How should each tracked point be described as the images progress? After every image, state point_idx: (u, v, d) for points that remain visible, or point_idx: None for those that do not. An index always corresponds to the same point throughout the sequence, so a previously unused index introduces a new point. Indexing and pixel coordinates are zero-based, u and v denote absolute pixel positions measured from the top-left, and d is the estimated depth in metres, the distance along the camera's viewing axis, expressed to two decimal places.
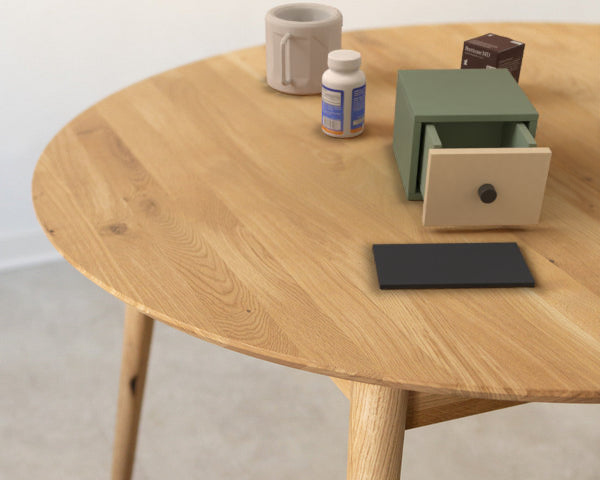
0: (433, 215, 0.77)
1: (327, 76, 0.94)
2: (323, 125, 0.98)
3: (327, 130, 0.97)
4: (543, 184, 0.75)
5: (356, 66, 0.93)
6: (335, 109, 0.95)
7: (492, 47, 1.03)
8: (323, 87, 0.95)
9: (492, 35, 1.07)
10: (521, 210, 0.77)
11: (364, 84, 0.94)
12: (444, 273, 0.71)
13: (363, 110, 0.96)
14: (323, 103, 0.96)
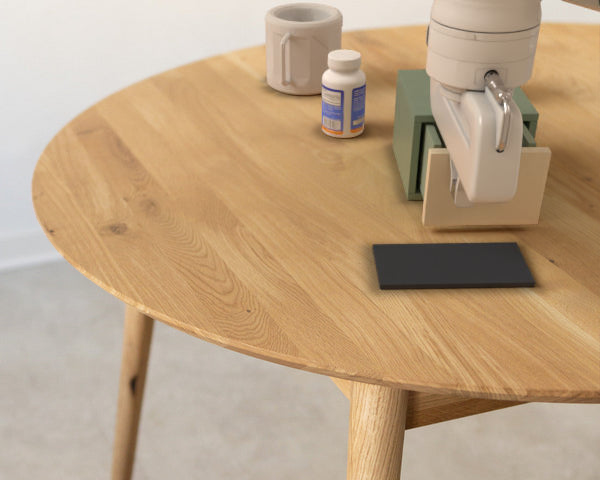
0: (433, 215, 0.77)
1: (327, 76, 0.94)
2: (323, 125, 0.98)
3: (327, 130, 0.97)
4: (542, 184, 0.75)
5: (356, 66, 0.93)
6: (335, 109, 0.95)
7: None
8: (323, 87, 0.95)
9: None
10: (521, 209, 0.77)
11: (364, 84, 0.94)
12: (444, 273, 0.71)
13: (363, 110, 0.96)
14: (323, 103, 0.96)
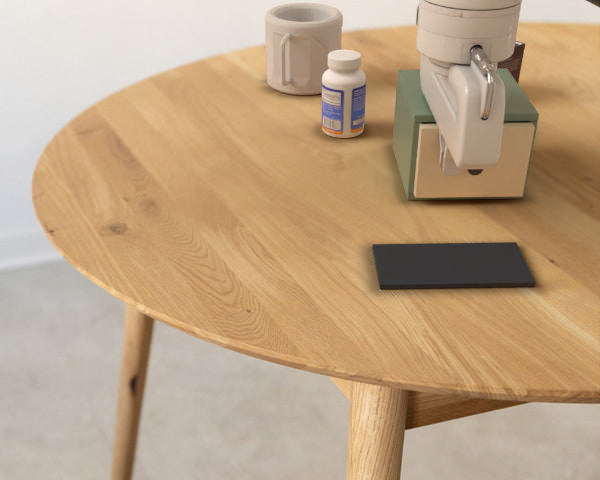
0: (424, 187, 0.82)
1: (327, 76, 0.94)
2: (323, 125, 0.98)
3: (327, 130, 0.97)
4: (526, 157, 0.80)
5: (356, 66, 0.93)
6: (335, 109, 0.95)
7: None
8: (323, 87, 0.95)
9: None
10: (506, 182, 0.81)
11: (364, 84, 0.94)
12: (444, 273, 0.71)
13: (363, 110, 0.96)
14: (323, 103, 0.96)
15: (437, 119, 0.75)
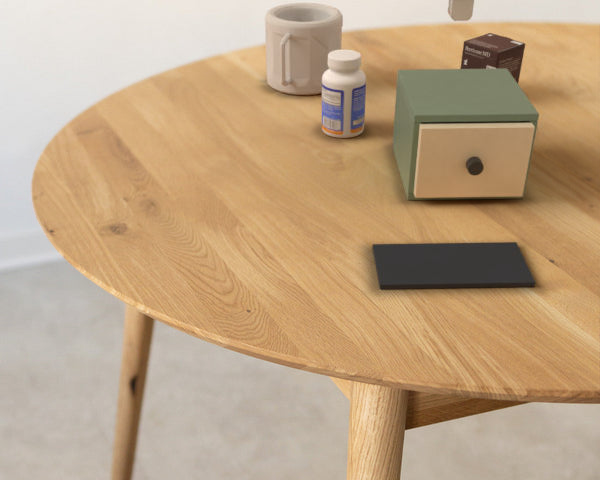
0: (424, 187, 0.82)
1: (327, 76, 0.94)
2: (323, 125, 0.98)
3: (327, 130, 0.97)
4: (526, 157, 0.80)
5: (356, 66, 0.93)
6: (335, 109, 0.95)
7: (492, 46, 1.03)
8: (323, 87, 0.95)
9: (492, 35, 1.07)
10: (506, 182, 0.81)
11: (364, 84, 0.94)
12: (444, 273, 0.71)
13: (363, 110, 0.96)
14: (323, 103, 0.96)
15: None
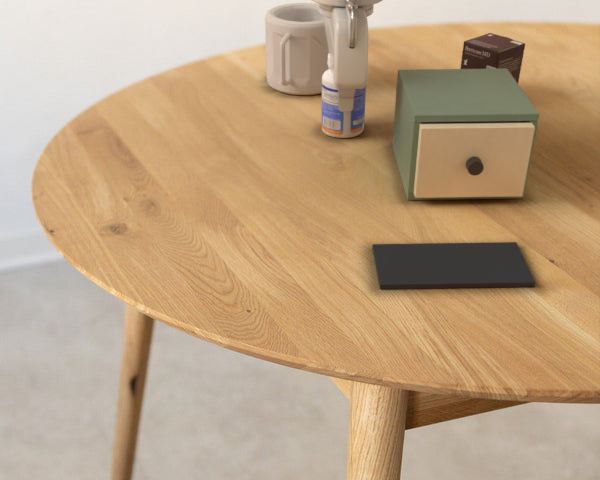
0: (424, 187, 0.82)
1: (327, 76, 0.94)
2: (323, 125, 0.98)
3: (327, 130, 0.97)
4: (526, 157, 0.80)
5: None
6: (335, 109, 0.95)
7: (492, 47, 1.03)
8: (323, 87, 0.95)
9: (492, 35, 1.07)
10: (506, 182, 0.81)
11: None
12: (444, 273, 0.71)
13: (363, 110, 0.96)
14: (323, 103, 0.96)
15: None
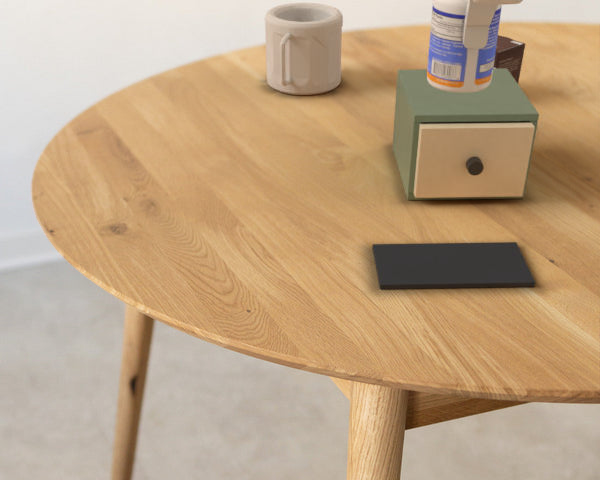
0: (424, 187, 0.82)
1: None
2: (431, 74, 0.64)
3: (438, 81, 0.64)
4: (526, 157, 0.80)
5: None
6: (455, 46, 0.61)
7: None
8: (436, 13, 0.61)
9: None
10: (506, 182, 0.81)
11: (500, 7, 0.61)
12: (444, 273, 0.71)
13: (494, 50, 0.63)
14: (435, 39, 0.62)
15: None
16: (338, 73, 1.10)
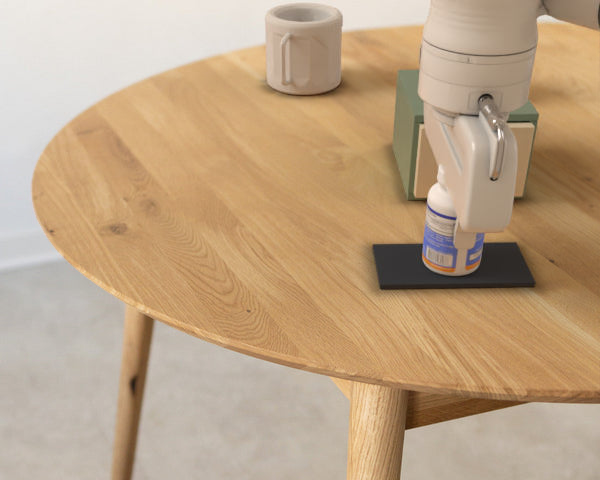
0: (424, 187, 0.82)
1: (438, 197, 0.68)
2: (426, 257, 0.71)
3: (432, 265, 0.71)
4: (526, 157, 0.80)
5: None
6: (447, 240, 0.69)
7: None
8: (430, 210, 0.69)
9: None
10: None
11: None
12: None
13: (483, 239, 0.70)
14: (429, 231, 0.70)
15: None
16: (338, 73, 1.10)
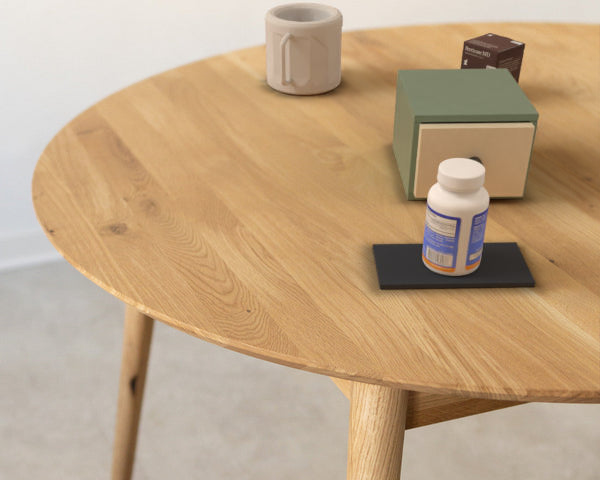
0: (424, 187, 0.82)
1: (438, 197, 0.68)
2: (426, 257, 0.71)
3: (432, 265, 0.71)
4: (526, 157, 0.80)
5: (480, 184, 0.66)
6: (447, 240, 0.69)
7: (492, 47, 1.03)
8: (430, 210, 0.69)
9: (492, 35, 1.07)
10: (506, 182, 0.81)
11: (487, 207, 0.68)
12: None
13: (483, 239, 0.70)
14: (429, 231, 0.70)
15: None
16: (338, 73, 1.10)
